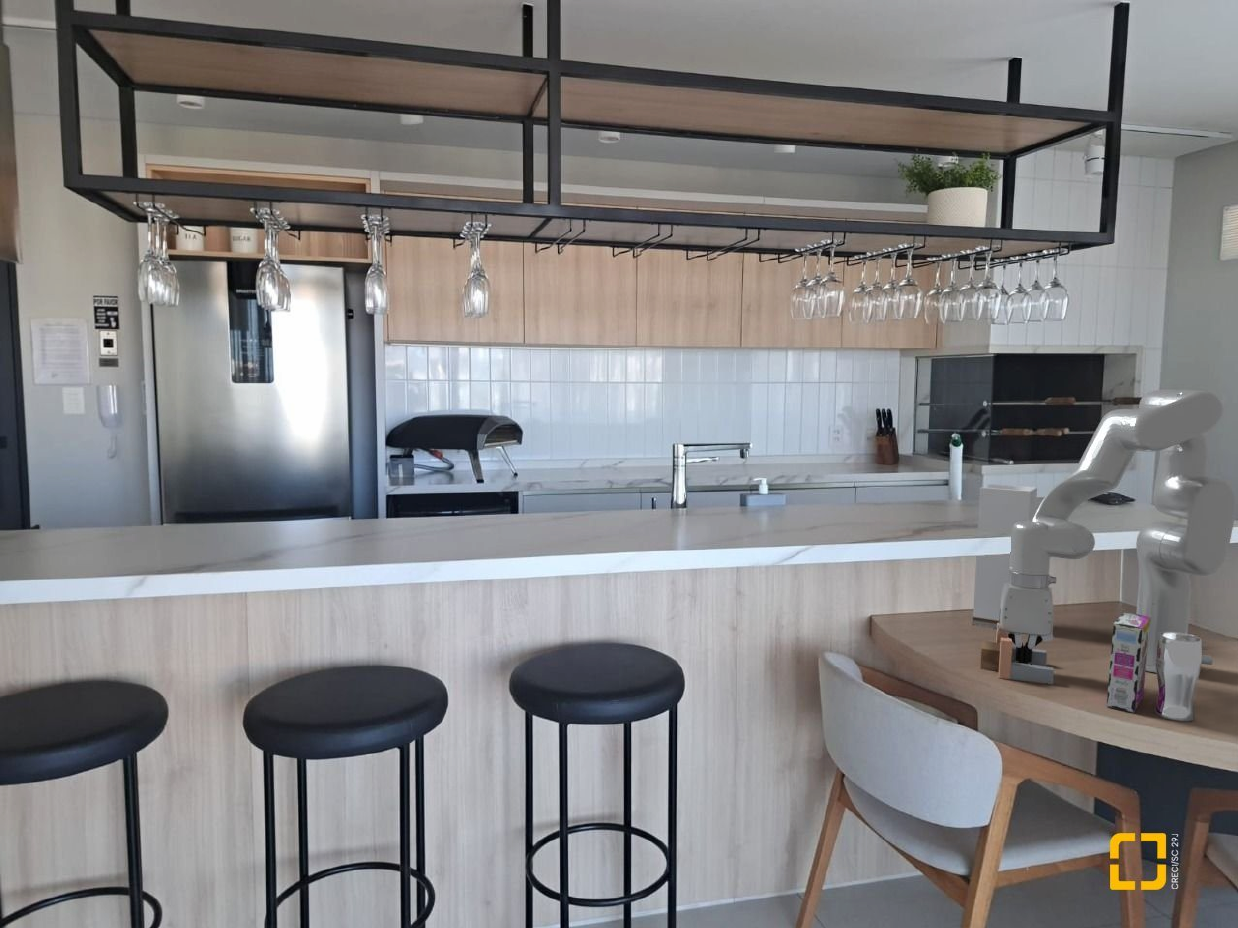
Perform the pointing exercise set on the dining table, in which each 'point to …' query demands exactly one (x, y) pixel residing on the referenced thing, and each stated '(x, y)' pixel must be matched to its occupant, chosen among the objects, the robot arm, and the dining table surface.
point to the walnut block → (990, 655)
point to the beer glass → (1177, 674)
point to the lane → (1023, 664)
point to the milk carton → (1128, 661)
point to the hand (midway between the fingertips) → (1023, 664)
